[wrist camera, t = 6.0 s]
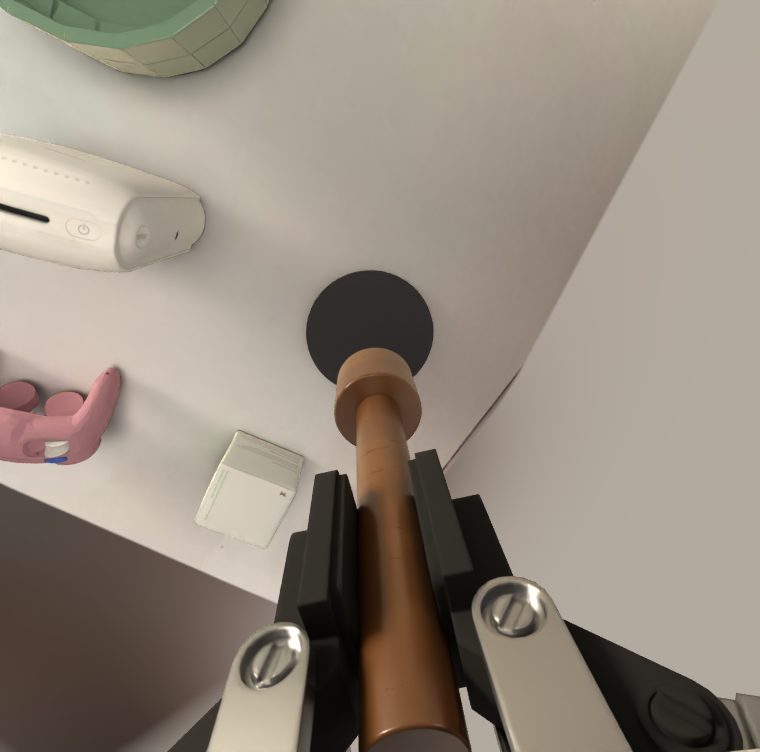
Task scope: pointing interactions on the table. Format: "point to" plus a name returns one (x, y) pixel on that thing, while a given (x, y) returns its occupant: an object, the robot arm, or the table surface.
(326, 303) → the coaster
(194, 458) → the table surface
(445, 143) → the table surface
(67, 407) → the video game controller
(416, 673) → the pestle
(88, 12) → the bowl
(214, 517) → the small box
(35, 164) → the photo printer
